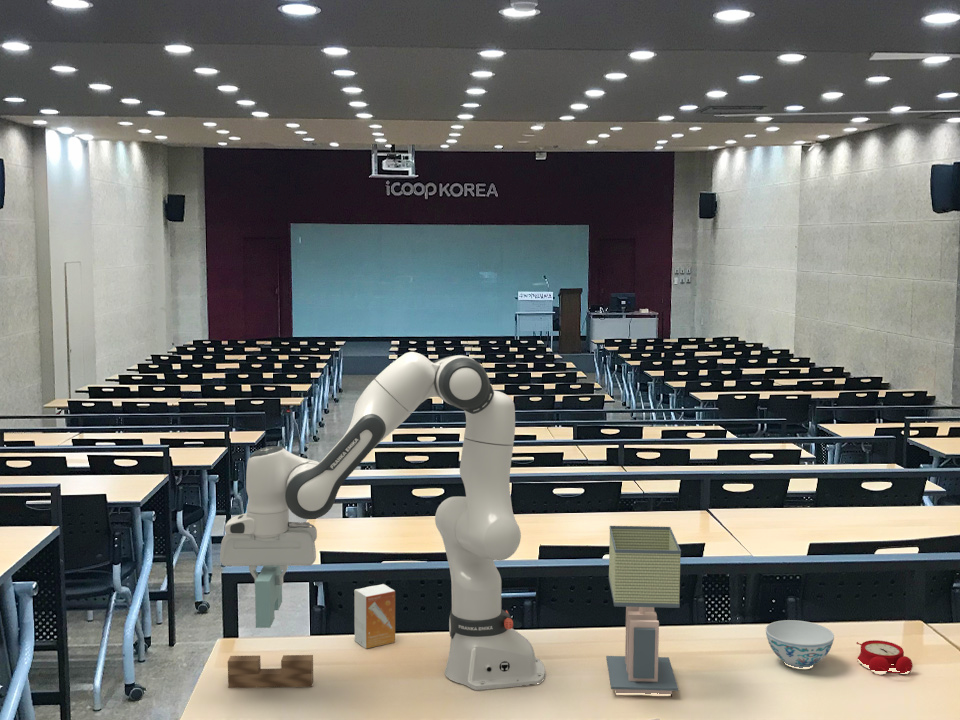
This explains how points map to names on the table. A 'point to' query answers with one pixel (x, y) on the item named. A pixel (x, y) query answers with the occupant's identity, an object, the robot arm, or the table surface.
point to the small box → (374, 615)
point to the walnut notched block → (270, 672)
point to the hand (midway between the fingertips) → (268, 584)
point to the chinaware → (799, 642)
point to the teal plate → (267, 596)
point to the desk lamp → (643, 604)
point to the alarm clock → (884, 656)
